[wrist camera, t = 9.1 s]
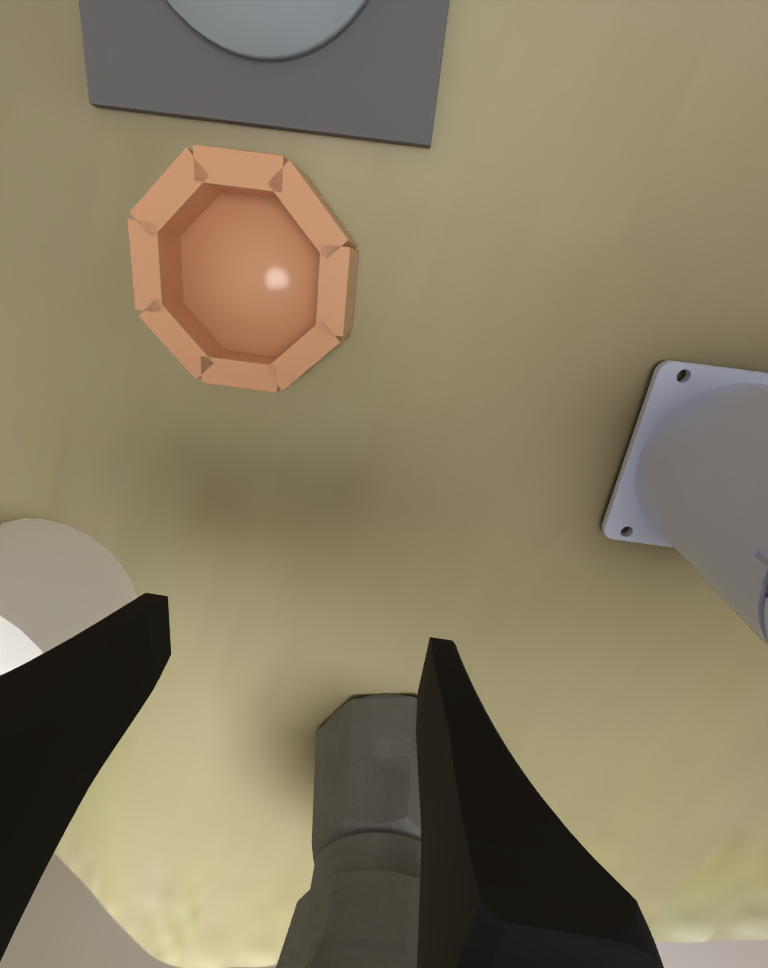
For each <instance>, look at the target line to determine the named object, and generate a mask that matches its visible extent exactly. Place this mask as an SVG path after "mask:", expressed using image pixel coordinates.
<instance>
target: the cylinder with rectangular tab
mask: <svg viewBox="0 0 768 968" xmlns="http://www.w3.org/2000/svg"><path fill="white" fill-rule="evenodd" d="M136 598H137V596H136V592H135V588H134V585H133V584H132V582H131V580H130V578H129V576H128V574H127V573H126V571H125V569H124V568H123V566H122V565H121V564H120V563H119V562H118V561H117V559H116V558H115V557H114V556H113V555H112V554H111V553H110V551H108V550H107V549H106V548H104V547H103V546H102V545H101V544H99V543H98V542H97V541H95V540H94V539H93V538H91V537H90V536H88V535H86V534H84V533H82V532H80V531H78V530H76V529H74V528H72V527H70V526H68V525H64V524H61V523H57V522H53V521H50V520H46V519H27V518H22V519H18V520H14V521H9V522H5V523H2V524H1V525H0V675H2V674H5V673H7V672H9V671H11V670H13V669H15V668H17V667H19V666H21V665H23V664H25V663H27V662H29V661H30V660H32V659H34V658H36V657H38V656H39V655H41V654H43V653H45V652H47V651H49V650H50V649H52V648H54V647H56V646H58V645H59V644H61V643H63V642H65V641H67V640H68V639H70V638H72V637H74V636H75V635H77V634H79V633H80V632H82V631H84V630H85V629H87V628H89V627H90V626H92V625H94V624H95V623H97V622H99V621H100V620H102V619H104V618H105V617H107V616H108V615H110V614H112V613H113V612H115V611H117V610H118V609H120V608H121V607H123V606H125V605H126V604H128V603H130V602H131V601H133V600H134V599H136Z"/></svg>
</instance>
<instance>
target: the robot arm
mask: <svg viewBox="0 0 768 968" xmlns="http://www.w3.org/2000/svg"><path fill="white" fill-rule="evenodd" d="M684 369H685V371H686V374H685V377H684V378H683V379H682V380H680V381H677V374H678V373H679V372H680V371H681V370H684ZM628 526H629V529H628V531H626V532H623V533H621V530H622V528H624V527H628ZM601 529H602V532H603V533H604V535H605V536H606V537H607V538H610V539H614V540H621V541H628V542H636V543H643V544H650V545H658V546H665V547H672V548H675V549H676V550H677V551H678V552H679V553H680V554H681V555H682V556H683V557H684V558H685V559H686V561H687V562H688V563H689V564H690V565H691V566H692V567H693V568H694V569H695V570H696V571H697V572H698V573H699V574H700V575H701V576H702V577H703V579H704V580H705V581H706V582H707V583H708V584H709V585H710V586H711V587H712V588H713V589H714V590H715V591H716V592H717V593H718V594H719V595H720V596H721V598H722V599H723V600H724V601H725V602H726V603H727V604H728V605H729V606H730V607H731V608H732V609H733V610H734V611H735V612H736V613H737V614H738V615H739V617H740V618H741V619H742V620H743V621H744V622H745V623H746V624H747V625H748V626H749V627H750V628H751V629H752V630H753V631H754V632H755V633H756V634H757V636H758V637H759V638H760V639H761V640H762V641H763V642H764V643H765V644H766V645H767V646H768V373H767V372H759V371H751V370H743V369H736V368H728V367H720V366H713V365H705V364H697V363H689V362H682V361H674V360H666V361H664V362H661V363H660V364H659V365H658V366H657V367H656V369H655V371H654V373H653V376H652V379H651V382H650V385H649V388H648V391H647V394H646V397H645V400H644V402H643V405H642V408H641V411H640V414H639V417H638V420H637V423H636V426H635V429H634V432H633V435H632V438H631V441H630V444H629V447H628V449H627V452H626V455H625V458H624V461H623V464H622V467H621V470H620V473H619V476H618V479H617V482H616V485H615V488H614V491H613V494H612V497H611V499H610V502H609V505H608V508H607V511H606V514H605V517H604V520H603V523H602V528H601ZM170 655H171V644H170V627H169V609H168V596H162V595H156V594H150V593H145V594H143V595H141V596H140V597H138V598H136V599H134V600H133V601H131V602H130V603H128V604H126V605H125V606H123V607H121V608H120V609H118V610H117V611H115V612H113V613H112V614H110V615H108V616H107V617H105V618H104V619H102V620H100V621H99V622H97V623H95V624H94V625H92V626H90V627H89V628H87V629H85V630H84V631H82V632H80V633H79V634H77V635H75V636H74V637H72V638H70V639H68V640H67V641H65V642H63V643H61V644H59V645H58V646H56V647H54V648H52V649H50V650H49V651H47V652H45V653H43V654H41V655H39V656H38V657H36V658H34V659H32V660H30V661H29V662H27V663H25V664H23V665H21V666H19V667H17V668H15V669H13V670H11V671H9V672H7V673H5V674H2V675H0V961H1V959H2V957H3V955H4V952H5V950H6V948H7V946H8V944H9V942H10V940H11V937H12V935H13V933H14V931H15V929H16V927H17V925H18V923H19V921H20V919H21V917H22V914H23V913H24V911H25V909H26V907H27V905H28V902H29V900H30V898H31V896H32V894H33V892H34V890H35V888H36V886H37V884H38V882H39V880H40V878H41V876H42V874H43V872H44V870H45V868H46V866H47V865H48V863H49V861H50V859H51V857H52V855H53V853H54V851H55V849H56V847H57V845H58V844H59V842H60V840H61V838H62V836H63V834H64V832H65V830H66V828H67V826H68V825H69V823H70V821H71V819H72V817H73V816H74V814H75V812H76V810H77V808H78V806H79V805H80V803H81V801H82V799H83V797H84V795H85V794H86V792H87V790H88V788H89V787H90V785H91V783H92V782H93V780H94V778H95V777H96V775H97V774H98V772H99V770H100V769H101V767H102V766H103V764H104V763H105V761H106V760H107V758H108V757H109V755H110V754H111V752H112V751H113V749H114V748H115V746H116V745H117V743H118V742H119V740H120V739H121V738H122V736H123V735H124V733H125V732H126V730H127V729H128V727H129V726H130V724H131V723H132V721H133V720H134V718H135V717H136V715H137V714H138V712H139V711H140V709H141V708H142V706H143V705H144V703H145V702H146V700H147V699H148V697H149V695H150V694H151V692H152V691H153V689H154V687H155V685H156V683H157V682H158V680H159V678H160V676H161V674H162V672H163V670H164V668H165V666H166V664H167V662H168V660H169V657H170ZM416 744H417V763H418V780H419V798H420V815H421V865H420V898H419V926H418V950H417V968H664V967H663V964H662V961H661V958H660V956H659V953H658V950H657V947H656V944H655V942H654V939H653V937H652V934H651V932H650V930H649V927H648V925H647V923H646V921H645V919H644V916H643V914H642V912H641V910H640V908H639V905H638V903H637V901H636V900H635V899H634V898H633V897H632V896H631V895H630V894H629V893H628V892H627V891H626V890H625V889H624V888H623V887H622V886H621V885H620V884H619V883H618V882H617V881H616V880H615V879H614V878H613V877H612V876H611V875H610V874H609V873H608V872H607V871H606V870H605V869H604V868H603V867H602V866H601V865H600V864H599V863H598V862H597V861H596V860H595V859H594V858H593V857H592V856H591V855H590V854H589V852H588V851H587V850H586V849H585V848H584V847H583V846H582V845H581V844H580V842H579V841H578V840H577V839H576V838H575V837H574V836H573V835H572V834H571V833H570V831H569V830H568V829H567V828H566V827H565V825H564V824H563V823H562V822H561V820H560V819H559V818H558V817H557V815H556V814H555V813H554V812H553V811H552V809H551V808H550V807H549V806H548V804H547V803H546V802H545V801H544V800H543V798H542V797H541V796H540V794H539V793H538V792H537V790H536V789H535V788H534V786H533V785H532V784H531V782H530V781H529V779H528V778H527V777H526V775H525V774H524V772H523V771H522V770H521V768H520V767H519V765H518V764H517V762H516V761H515V759H514V758H513V756H512V755H511V753H510V752H509V750H508V748H507V747H506V745H505V744H504V742H503V740H502V739H501V737H500V735H499V734H498V732H497V730H496V729H495V727H494V725H493V723H492V722H491V720H490V718H489V716H488V714H487V713H486V711H485V709H484V707H483V705H482V703H481V701H480V699H479V697H478V695H477V693H476V691H475V689H474V687H473V685H472V683H471V681H470V679H469V676H468V674H467V672H466V670H465V667H464V665H463V663H462V660H461V658H460V655H459V653H458V650H457V647H456V645H455V643H454V642H453V641H451V640H445V639H439V638H432V637H430V640H429V644H428V649H427V653H426V658H425V662H424V667H423V671H422V676H421V680H420V685H419V689H418V697H417V716H416Z"/></svg>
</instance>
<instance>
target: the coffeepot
mask: <svg viewBox="0 0 768 968" xmlns="http://www.w3.org/2000/svg"><path fill="white" fill-rule="evenodd" d="M416 716H417V698H416V697H412V696H406V695H400V694H375V695H368V696H364V697H361V698H357V699H351V700H350V701H349V702H347V703H346V704H344V705H343V706H341V707H340V708H339V709H337V710H336V711H335V712H334V713H333V714H332V715H331V716H330V718H329V719H328V720H327V722H326V723H325V724H324V725H323V726H322V727H321V728H320V729H319V730H318V731H317V732H316V756H315V780H314V803H313V827H312V851H313V859H314V864H315V865H314V871H313V877H312V883H311V889H310V890H309V891H308V892H307V893H306V894H305V895H304V896H303V897H302V898H301V899H300V900H299V901H298V902H297V905H296V908H295V911H294V914H293V917H292V920H291V923H290V926H289V929H288V933H287V936H286V939H285V942H284V945H283V948H282V951H281V954H280V957H279V960H278V963H277V967H276V968H417V950H418V926H419V898H420V865H421V815H420V798H419V780H418V763H417V744H416Z"/></svg>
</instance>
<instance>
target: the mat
mask: <svg viewBox="0 0 768 968" xmlns="http://www.w3.org/2000/svg"><path fill="white" fill-rule="evenodd" d="M79 7H80V17H81V26H82V36H83V45H84V55H85V64H86V74H87V83H88V93H89V102H90V104H92V105H94V106H96V107H100V108H108V109H116V110H124V111H132V112H140V113H148V114H157V115H165V116H173V117H181V118H189V119H197V120H205V121H214V122H222V123H230V124H238V125H246V126H254V127H262V128H271V129H279V130H287V131H295V132H303V133H311V134H319V135H328V136H336V137H344V138H352V139H360V140H368V141H376V142H385V143H393V144H401V145H409V146H417V147H425V148H430V146H431V138H432V130H433V123H434V115H435V107H436V100H437V92H438V84H439V77H440V69H441V61H442V53H443V46H444V38H445V30H446V23H447V15H448V7H449V0H369V2H368V4H367V5H366V7H365V8H364V10H363V11H362V12H361V14H360V15H359V16H358V17H357V19H356V20H355V21H354V22H353V23H352V25H351V26H350V27H349V28H348V29H346V30H345V31H344V32H343V33H342V34H341V35H340V36H339V37H338V38H337V39H335V40H334V41H332V42H331V43H330V44H328V45H327V46H325V47H324V48H322V49H320V50H318V51H316V52H314V53H312V54H310V55H308V56H305V57H301V58H298V59H295V60H291V61H283V62H259V61H254V60H249V59H244V58H241V57H239V56H236V55H233V54H231V53H228V52H226V51H224V50H223V49H221V48H219V47H217V46H215V45H214V44H212V43H211V42H209V41H208V40H207V39H205V38H204V37H203V36H201V35H200V34H199V33H197V32H196V31H195V30H194V29H193V28H192V27H191V26H190V25H189V24H188V23H187V22H186V21H185V20H184V19H183V18H182V17H181V16H180V15H179V14H178V13H177V11H176V10H175V9H174V8H173V7H172V6H171V4H170V3H169V2H168V1H167V0H79Z"/></svg>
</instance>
